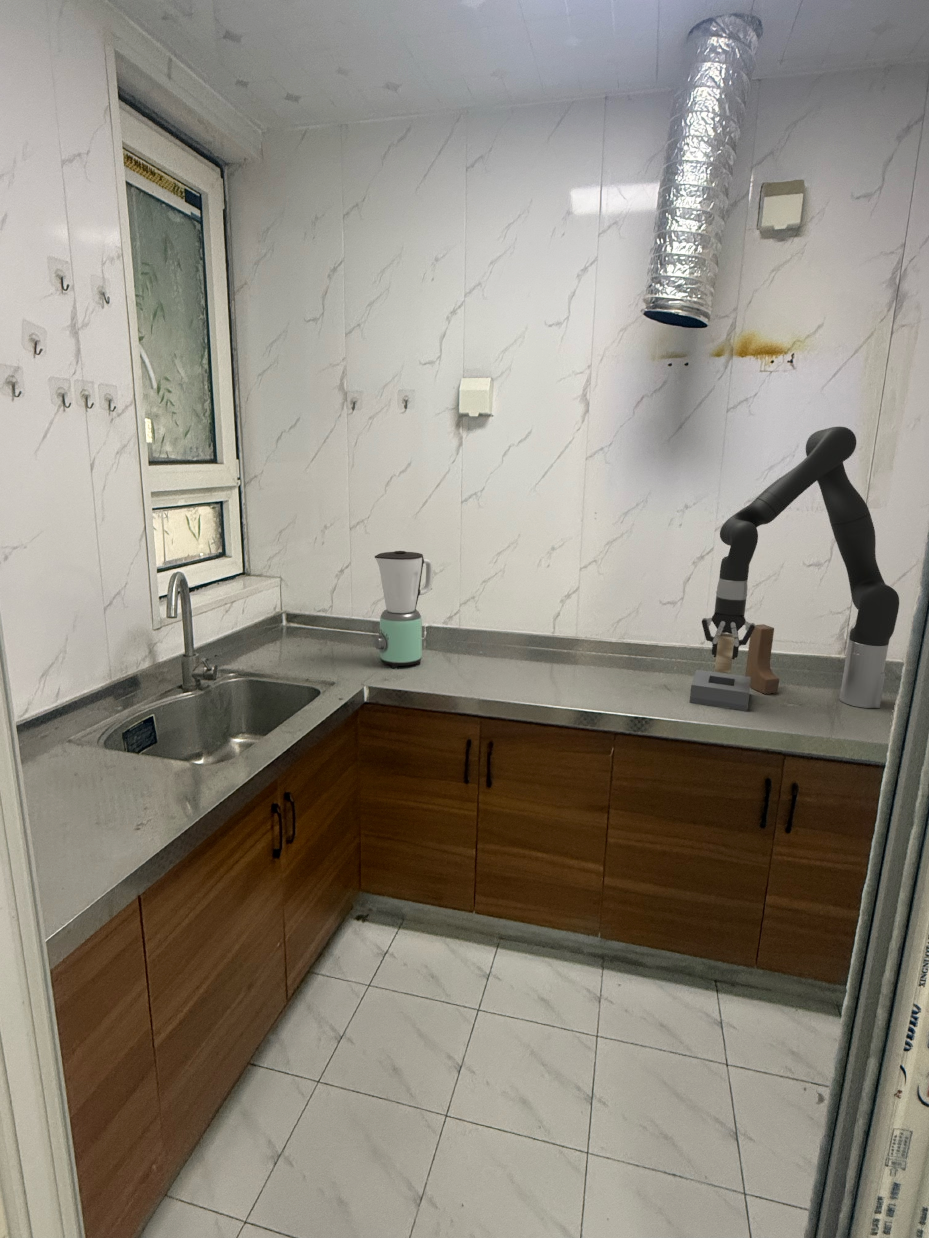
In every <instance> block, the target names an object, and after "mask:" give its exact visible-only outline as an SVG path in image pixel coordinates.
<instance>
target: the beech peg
mask: <svg viewBox="0 0 929 1238" xmlns="http://www.w3.org/2000/svg"><path fill="white" fill-rule="evenodd" d="M733 647H734V638H733V635H732V634H729V633H721V635H720V636H718V645H717V654H716V657H715V662H714V663H715V665H714V671H713V672H718V673H725V674H731V671H732V663H733V659H732V655H733Z"/></svg>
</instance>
